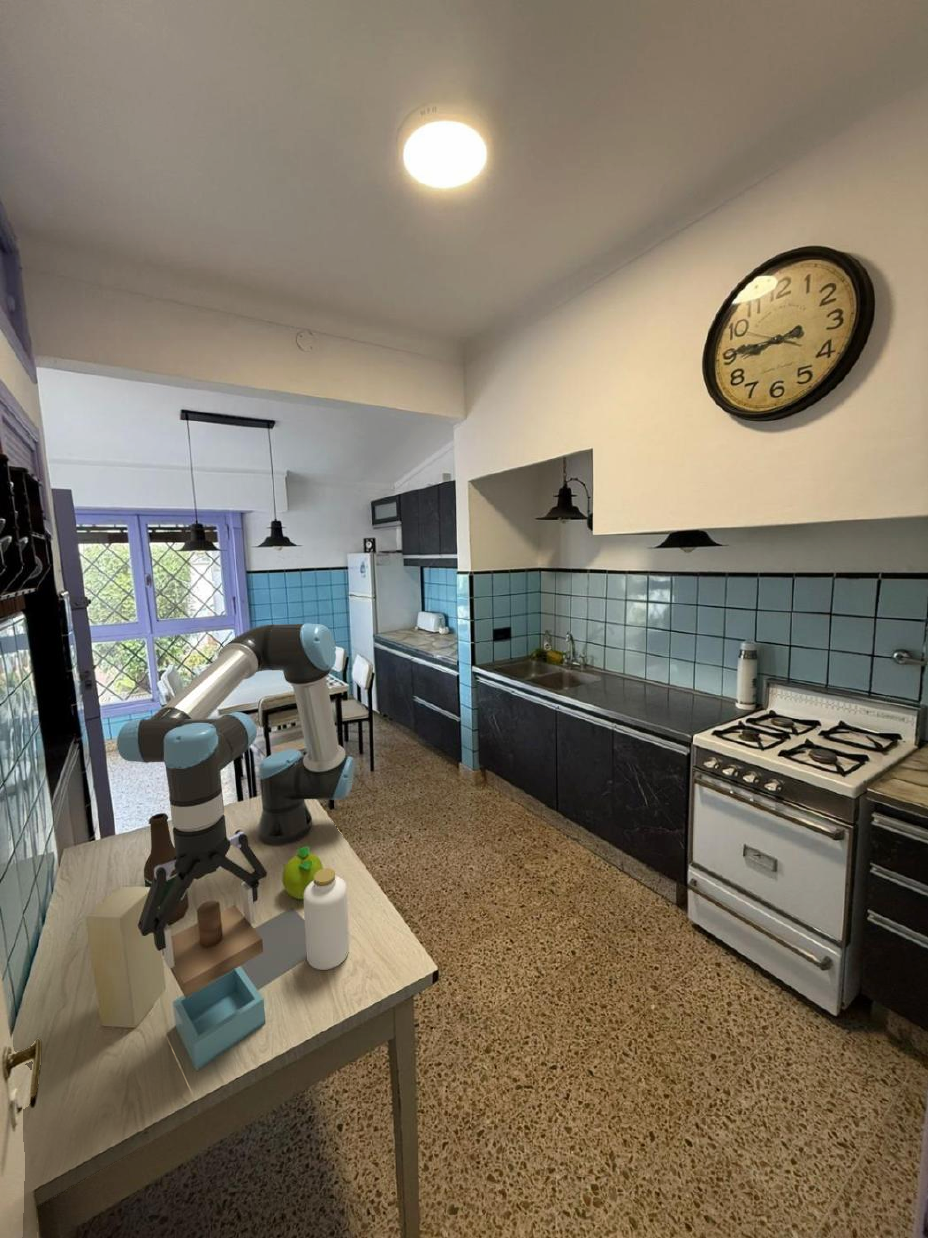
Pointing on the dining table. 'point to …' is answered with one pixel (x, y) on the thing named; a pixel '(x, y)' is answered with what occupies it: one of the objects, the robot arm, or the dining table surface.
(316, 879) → the potion bottle
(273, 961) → the mat
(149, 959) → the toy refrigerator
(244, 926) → the lid cover
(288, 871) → the fruit
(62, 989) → the dining table surface
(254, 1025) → the dish
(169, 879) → the beer bottle
